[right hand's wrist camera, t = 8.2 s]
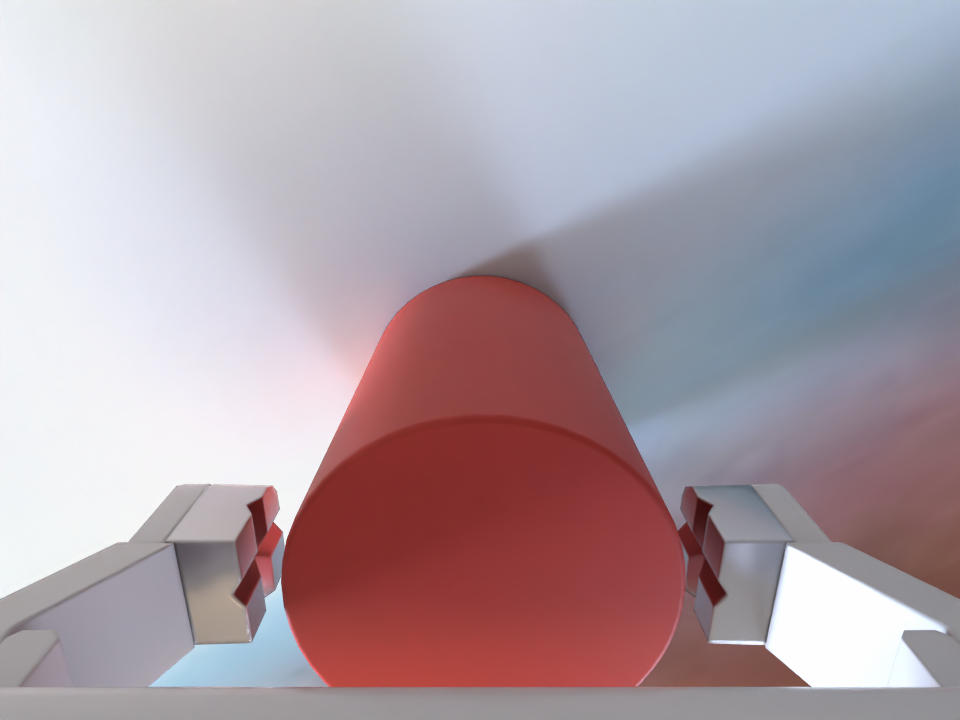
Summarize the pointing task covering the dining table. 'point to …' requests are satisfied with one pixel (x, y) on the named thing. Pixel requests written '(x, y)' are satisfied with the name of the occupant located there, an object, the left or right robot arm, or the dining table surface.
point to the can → (482, 511)
